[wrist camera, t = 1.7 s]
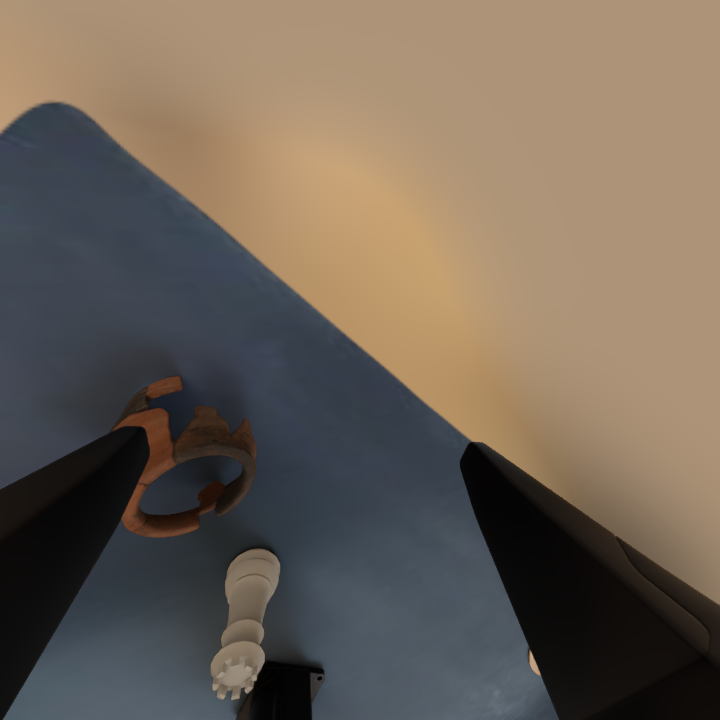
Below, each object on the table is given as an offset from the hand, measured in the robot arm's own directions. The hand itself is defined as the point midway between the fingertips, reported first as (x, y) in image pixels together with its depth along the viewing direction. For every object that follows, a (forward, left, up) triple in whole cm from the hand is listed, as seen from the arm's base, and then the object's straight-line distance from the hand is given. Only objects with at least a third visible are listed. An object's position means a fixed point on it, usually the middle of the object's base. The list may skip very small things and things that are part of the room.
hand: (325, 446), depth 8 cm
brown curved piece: (-10, +6, -16) cm, 20 cm away
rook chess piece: (-19, -4, -16) cm, 25 cm away
